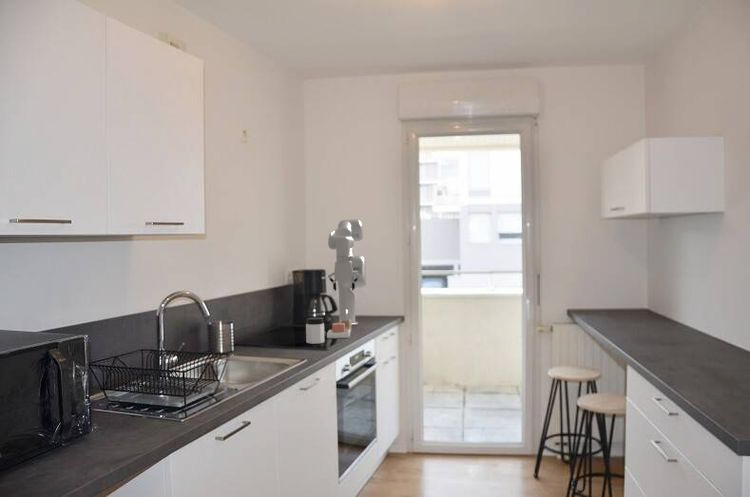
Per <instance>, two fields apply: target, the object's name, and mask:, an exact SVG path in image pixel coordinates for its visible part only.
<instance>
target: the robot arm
mask: <svg viewBox="0 0 750 497" xmlns="http://www.w3.org/2000/svg"><path fill="white" fill-rule="evenodd" d="M363 238H364V228H363V223H362V222H361V220H359V219H343V220H340V221H339V222H338V226H337V228H336V229H335V230H333V231H331V232H330V233H329V235H328V240H327V245H328V248H329V249H330V250H336V251H335V253H336V255H335V256H336V261H335V263H334V272H332V273H330V274H328V275H327V278H328V279H329V281H330V282H331V283H332V287H333V288H332V289H333V290H334V291H335V292H336V291H337V289H338V308H339V312H338V313H339V315H338V316H339V318H338V319H339V322H337V323H340V320H343V310H348V320H351V326H356V325H358V324H359V322H358V321H356V301H355V300H356V298H355V297H356V296H355V293H354V292H353V291H354V290H355V289H357V288H358V289H359V288H361V289H362V288H364V287H366V285H367V267H366V266H367V265H366V259H365V257H364V256H363V255H354V249H353V247H354V245H355V242H359V241H361V240H362V239H363ZM333 276H334V279H333V278H332V277H333ZM337 287H338V288H337Z"/></svg>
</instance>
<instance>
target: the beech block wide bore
mask: <svg viewBox="0 0 750 497" xmlns="http://www.w3.org/2000/svg"><path fill="white" fill-rule="evenodd" d="M339 322H340V323H345V330H350V333H352V325H351V320H348V321H343V320H340V319H339Z"/></svg>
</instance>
